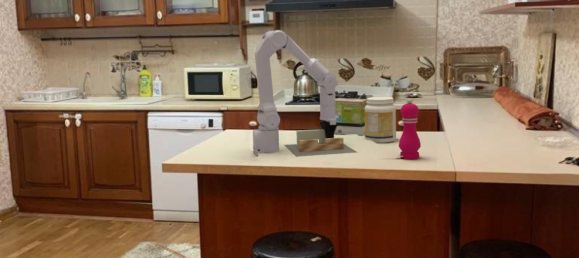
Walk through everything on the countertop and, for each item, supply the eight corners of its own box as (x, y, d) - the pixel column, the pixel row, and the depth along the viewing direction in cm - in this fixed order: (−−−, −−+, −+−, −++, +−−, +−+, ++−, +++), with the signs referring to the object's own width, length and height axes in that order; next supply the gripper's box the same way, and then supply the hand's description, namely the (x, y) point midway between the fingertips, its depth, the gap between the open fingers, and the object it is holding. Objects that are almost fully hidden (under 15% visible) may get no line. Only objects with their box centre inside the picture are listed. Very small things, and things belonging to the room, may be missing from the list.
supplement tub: (373, 137, 233) (373, 95, 231) (401, 139, 227) (401, 96, 224) (359, 142, 223) (359, 99, 221) (388, 144, 217) (387, 100, 214)
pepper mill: (405, 154, 197) (405, 97, 194) (424, 156, 192) (424, 97, 189) (394, 158, 191) (394, 99, 188) (414, 160, 187) (414, 100, 183)
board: (296, 159, 195) (296, 156, 194) (283, 147, 217) (283, 144, 217) (357, 155, 199) (357, 152, 198) (339, 143, 221) (339, 141, 221)
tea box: (328, 134, 244) (328, 99, 242) (338, 130, 253) (337, 97, 251) (361, 136, 237) (361, 100, 235) (370, 132, 246) (369, 98, 244)
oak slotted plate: (300, 152, 202) (299, 140, 201) (299, 151, 203) (298, 140, 203) (343, 149, 205) (343, 138, 204) (342, 148, 206) (342, 137, 206)
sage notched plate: (297, 147, 211) (297, 131, 210) (296, 146, 212) (296, 130, 211) (334, 144, 213) (334, 129, 212) (333, 144, 215) (332, 128, 214)
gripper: (343, 106, 205) (344, 143, 207) (333, 102, 219) (333, 137, 221) (324, 107, 204) (325, 145, 206) (315, 103, 218) (316, 138, 220)
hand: (328, 141), depth 214 cm, fingers open, 3 cm apart
